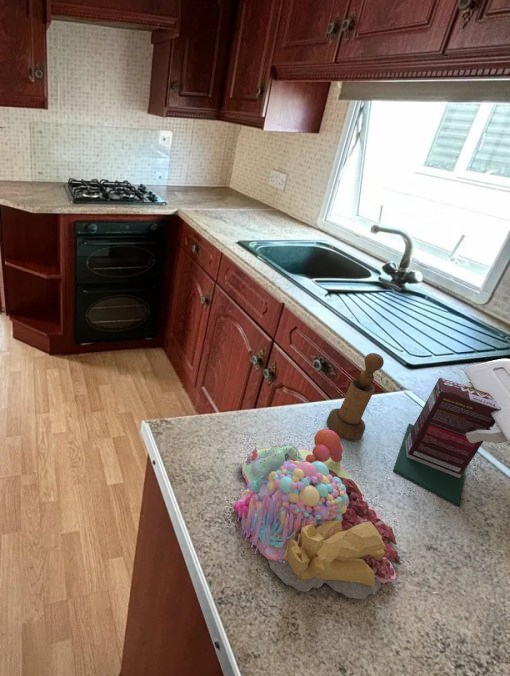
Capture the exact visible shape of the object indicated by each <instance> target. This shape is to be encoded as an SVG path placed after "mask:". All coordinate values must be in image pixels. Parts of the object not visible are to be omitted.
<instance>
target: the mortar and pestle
mask: <svg viewBox="0 0 510 676" xmlns="http://www.w3.org/2000/svg"><path fill="white" fill-rule="evenodd" d="M384 363H385V361H384V357H383V356H382V355H380V354H379V353H376V352H370V353H368V354H367V355H365V357H364V366H365V369H364V370H363V371H361V372H360V374H359V378H354V379H351V382H350V385H349V387H348V389H347V392H346V394H345V397H344V399H343V401H342V402H341V405H340V408H338V407H337V408H333V409H331V410H330V412H329V413H328V417H327V419H326V426H327V427H328V429H329V430H332V431H334V432H335V433H336V434H337V435H338V436H339V438H340V439H343V440H345V441H349V442H356V441H359V440H361V439H362V437H363V435H364V434H365V431H366V423H365V422H364V420H363V419H362V418H363V415H364V413H365V411H366V409H367V407H368V404H369V402H370V401H371V398H372V396H373V395H374V392H375V390H376V389H375V386H374V385H373V384H372V382H373V381H374V379H375V376H374V373H376V372H377V371H379V370H380V369H382V368H383V366H384Z"/></svg>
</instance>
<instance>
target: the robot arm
mask: <svg viewBox="0 0 510 676" xmlns="http://www.w3.org/2000/svg"><path fill="white" fill-rule="evenodd" d="M463 372H464V375H465V376H466V378H467V380H468V381H469V382H466V383H463V384H462V385H464V386H467V387H471V388H474V389H477V390H480V391H483V392H486V393H489V394H490V395H491V396H492V397H493V398H494V400H495V401H496V402H497V404H498V405H499V407H500V408H501V410H499V411H494V412H492V413H491V415H492V417H493V419H494V420H495V424H496V425H494V426H493V427H490V429H491V430H476V428H475V427H471V428H469V429H464V433H465V435H466V437H467V439H468V440H469V442H470V443H475V442H479V441H483V442H488V443H494V444H502V443H506V442H508V444H509V445H510V358H499V359H495V360H490V361H486V362H481V363H477V364H474V365H470V366H467V368H466V369H465V370H464V371H463Z"/></svg>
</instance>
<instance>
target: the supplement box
mask: <svg viewBox="0 0 510 676" xmlns="http://www.w3.org/2000/svg"><path fill="white" fill-rule="evenodd" d="M499 410H501V408H500V407H499V405H498V404H497V402H496V401H495V400H494V398H493V397H492V396H491V395H490V394H489V393H486V392H483V391H480V390H477V389H474V388H471V387H467V386H464V385H463V384H461V383H458V382H455V381H452V380H448V379H446V378H442V377H438V379H437V381H436V383H435V385H434V387H433V389H432V391H431V392H430V394H429V396H428V398H427V400H426V402H425V403H424V405H423V407H422V409H421V411H420V412H419V415H418V417H417V419H416V420H415V422H414V424H413V425H414V426H413V428H412V430H411V432H410V433H409V435H408V437H407V439H406V441H405V444H406V454H407V458H410V459H412V460H415V461H418V462H420V463H423V464H425V465H428V466H430V467H433V468H435V469H438V470H440V471H443V472H445V473H448V474H450V475H453V476H455V477H458V478H460V477H461V475H462V474H463V473H464V471H465V472H466V469H467V468H468V466H469V465H470V463H471V462H472V460H473V458H474V457H475V456H476V454H477V452H478V451H479V449H480V448H481V446H482V445H483V443H484V441H479V442H475V443H470V442H469V440H468V439H467V437H466V435H465V433H464V429H469V428H471V427H475V428H476V430H491V429H490V427H493V426H495V424H496V422H495V420H494V419H493V417H492V415H491V413H492V412H494V411H499Z"/></svg>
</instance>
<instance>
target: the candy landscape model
mask: <svg viewBox="0 0 510 676" xmlns="http://www.w3.org/2000/svg"><path fill="white" fill-rule="evenodd" d="M313 442H314V445H315V446H314V447H313V448H312V451H311V450H310V449H309V450H308V449H303V448H296V446H295V445H293V444H292V443H286V444H276V445H273V446H272V447H266V448H259V449H257V446H255V447H254V450H252V452H251V454H250V455H248V456H247V457H246V458H245V459H244V460H243V462H242V466H241V474H242V477H243V479H244V480H245V483H246V486H245V489H244V491H242V492H241V495H240V497H239V498H238V499H237V502H235V503H234V504H233V511H235V513H237V514H238V516H237V522H239V520H240V518H241V521H240V525H241V527H240V528H241V529H242V530H241V532H240V535H241V536H245V539H244V542H245V543H246V542H247V540H248V539H249V543H251V545H250V549H253V547H254V546H255V547H256V548H255V551H254V553H253V554H254V555H256V554H257V553H258V551H259V554H262V556H264V557H265V558H266V559H267V563H268V564H269V567H270V569H271V570H272V572H273V573H275V575H276V576H277V577H278V578H279V579H280V580H281V581H282V582H283V583H284V584H285V585H287V586H292V587H293V588H294V589H295V590H297V591H299V592H304V593H307V592H309V591H310V590H311V589H312V588H315V589H321V587H322V586H323V585H324V584H326V585H328V586H329V587H330V588H331V589H332V590H333V591H334V592H337V593H341V594H343V596H345V597H347V598H350V599H351V598H352V599H356V600H363V601H364V600H365V599H366V598H367V597H368V595H376V594H377V592H378V591H379V589H381V588H382V584H386V583H393V582H395V579H396V578H397V573H396V571H395V568H394V566H393V564H396V565H398V566H401V561H400V557H399V554H398V551H397V550H396V548H394V547H393V545H392V544H394V545H396V546H397V545H398V544H397V540H396V537H395V534H394V531H393V528H392V526H388V525H387V524H386V523H385V522H384V521H383V520H382V518H381V516H380V514H379V512H377V510H375V509H374V508H372V507H371V506H370V505H369V504H368V502H366V501H365V499H366V498H365V492H364V491H363V489H362V488H361V487H360V485H359V484H358V482H357V481H356V480H355V479H354V478H353V477H352V476H351V475H350V473H349V472H348V471H347V470H346V468H345V467H343V466H342V465H341V462H342V460H343V453H344V448H343V446H342V442H341V438H340V437H339V436H338V435H337V434H336V433H335V432H334V431H332V430H330V429H329V428H322V429H319V430H318V431H317V432H316V433H315V435H314V437H313ZM391 543H392V544H391ZM392 563H393V564H392Z"/></svg>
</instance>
